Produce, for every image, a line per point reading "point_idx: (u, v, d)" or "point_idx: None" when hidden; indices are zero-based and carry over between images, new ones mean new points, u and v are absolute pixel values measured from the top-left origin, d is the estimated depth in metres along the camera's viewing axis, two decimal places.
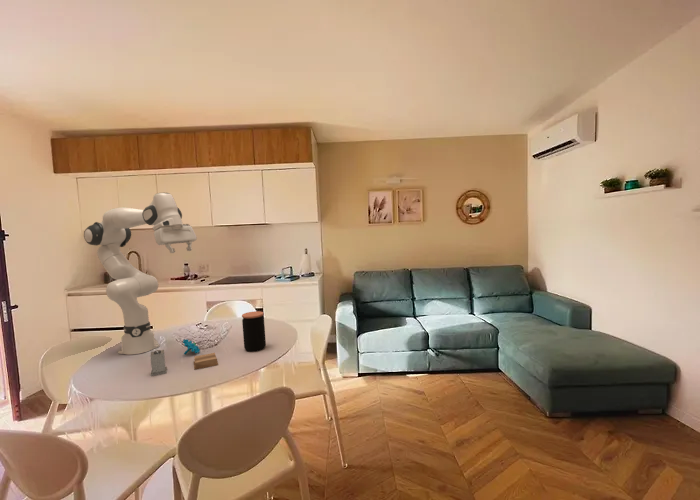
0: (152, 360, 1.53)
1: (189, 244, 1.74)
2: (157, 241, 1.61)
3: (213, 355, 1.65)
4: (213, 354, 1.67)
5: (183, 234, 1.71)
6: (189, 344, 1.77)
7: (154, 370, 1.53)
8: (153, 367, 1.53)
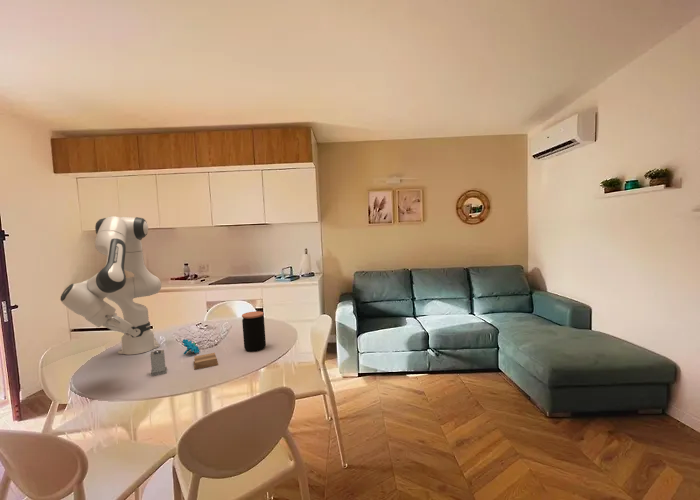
0: (152, 360, 1.53)
1: None
2: None
3: (213, 355, 1.65)
4: (213, 354, 1.67)
5: (114, 328, 1.42)
6: (189, 344, 1.77)
7: (154, 370, 1.53)
8: (153, 367, 1.53)
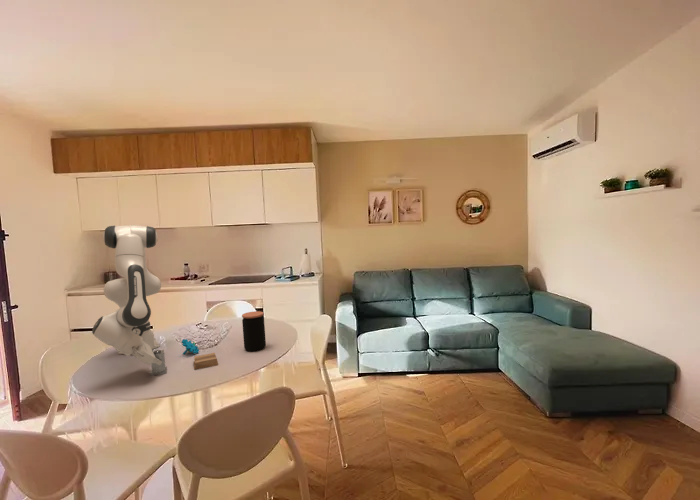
0: None
1: (154, 361, 1.51)
2: None
3: (213, 355, 1.65)
4: (213, 354, 1.67)
5: None
6: (188, 344, 1.77)
7: (154, 370, 1.53)
8: (153, 367, 1.53)
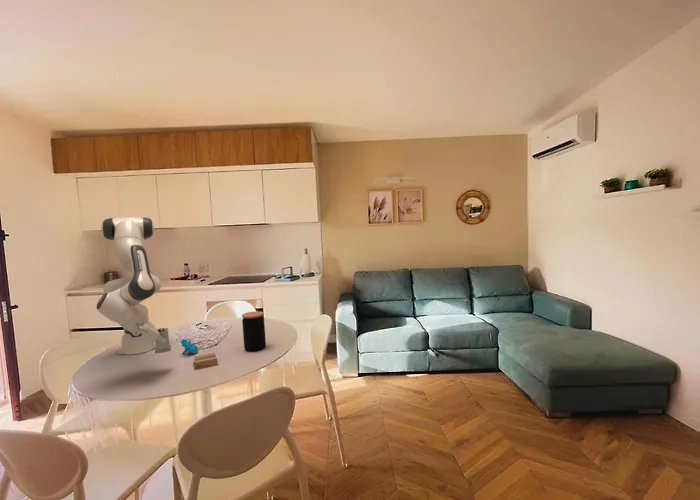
0: None
1: None
2: None
3: (213, 355, 1.65)
4: (213, 354, 1.67)
5: None
6: (187, 344, 1.77)
7: (158, 347, 1.53)
8: (157, 344, 1.53)
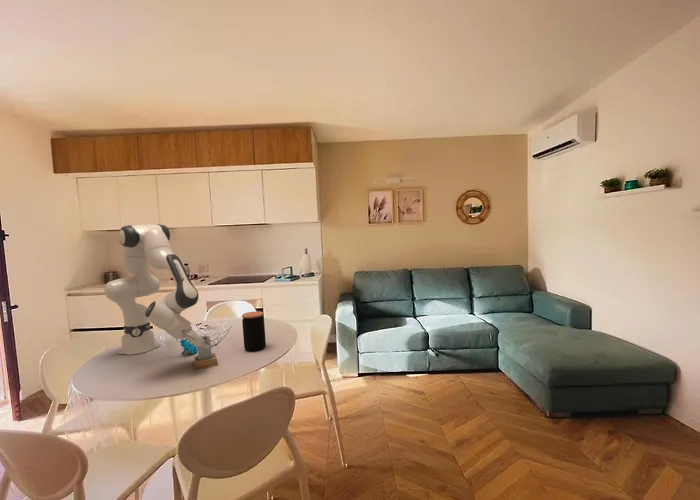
0: None
1: (202, 345, 1.57)
2: None
3: (213, 355, 1.65)
4: (213, 354, 1.67)
5: None
6: (186, 344, 1.77)
7: (201, 355, 1.60)
8: (200, 352, 1.60)
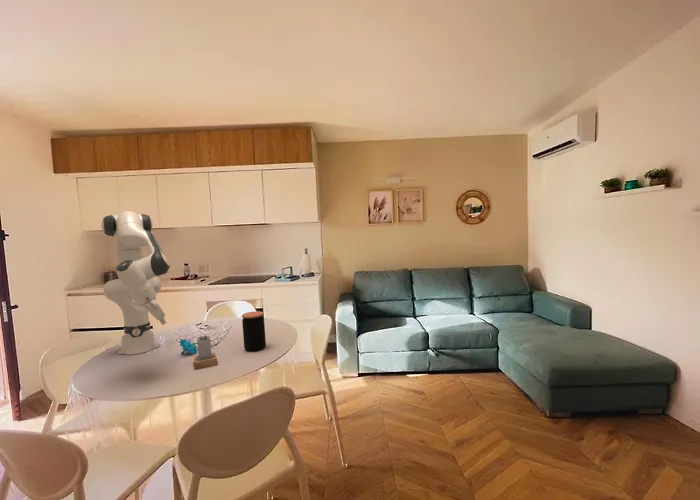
0: (200, 345, 1.60)
1: (160, 319, 1.53)
2: None
3: (213, 355, 1.65)
4: (213, 354, 1.67)
5: (149, 310, 1.52)
6: (186, 344, 1.78)
7: (201, 355, 1.60)
8: (200, 352, 1.60)
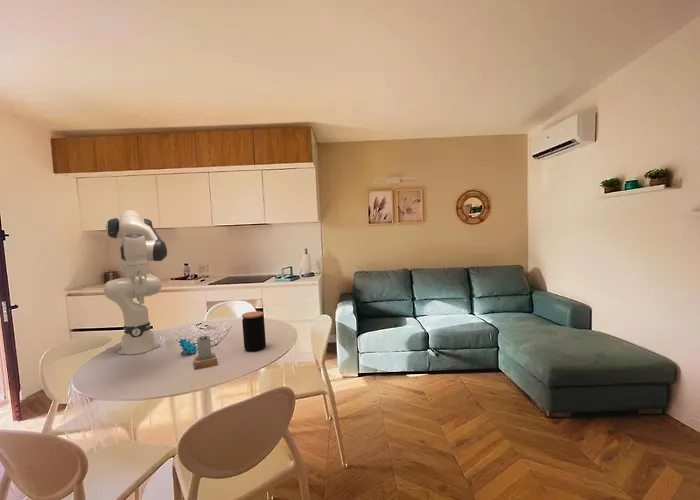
0: (200, 345, 1.60)
1: None
2: None
3: (213, 355, 1.65)
4: (213, 354, 1.67)
5: (134, 285, 1.53)
6: (185, 344, 1.78)
7: (201, 355, 1.60)
8: (200, 352, 1.60)
